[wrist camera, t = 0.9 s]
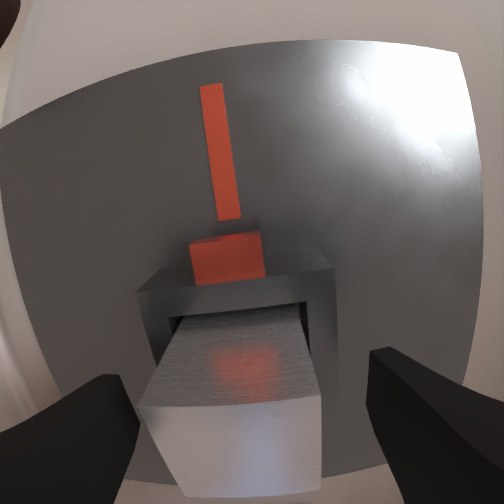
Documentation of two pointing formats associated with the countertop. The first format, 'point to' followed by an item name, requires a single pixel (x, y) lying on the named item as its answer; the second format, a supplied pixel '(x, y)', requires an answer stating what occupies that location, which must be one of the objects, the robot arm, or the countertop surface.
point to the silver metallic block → (237, 405)
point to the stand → (253, 217)
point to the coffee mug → (7, 17)
